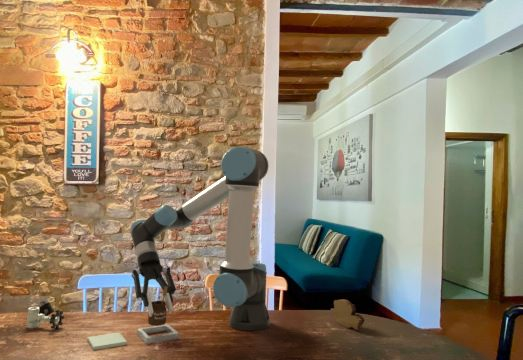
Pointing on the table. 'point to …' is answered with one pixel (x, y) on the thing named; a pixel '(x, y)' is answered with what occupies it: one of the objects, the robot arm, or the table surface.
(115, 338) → the green tile
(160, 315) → the utensil holder
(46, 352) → the table surface
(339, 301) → the wooden carving
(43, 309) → the lighter
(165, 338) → the grey square frame
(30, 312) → the valve
